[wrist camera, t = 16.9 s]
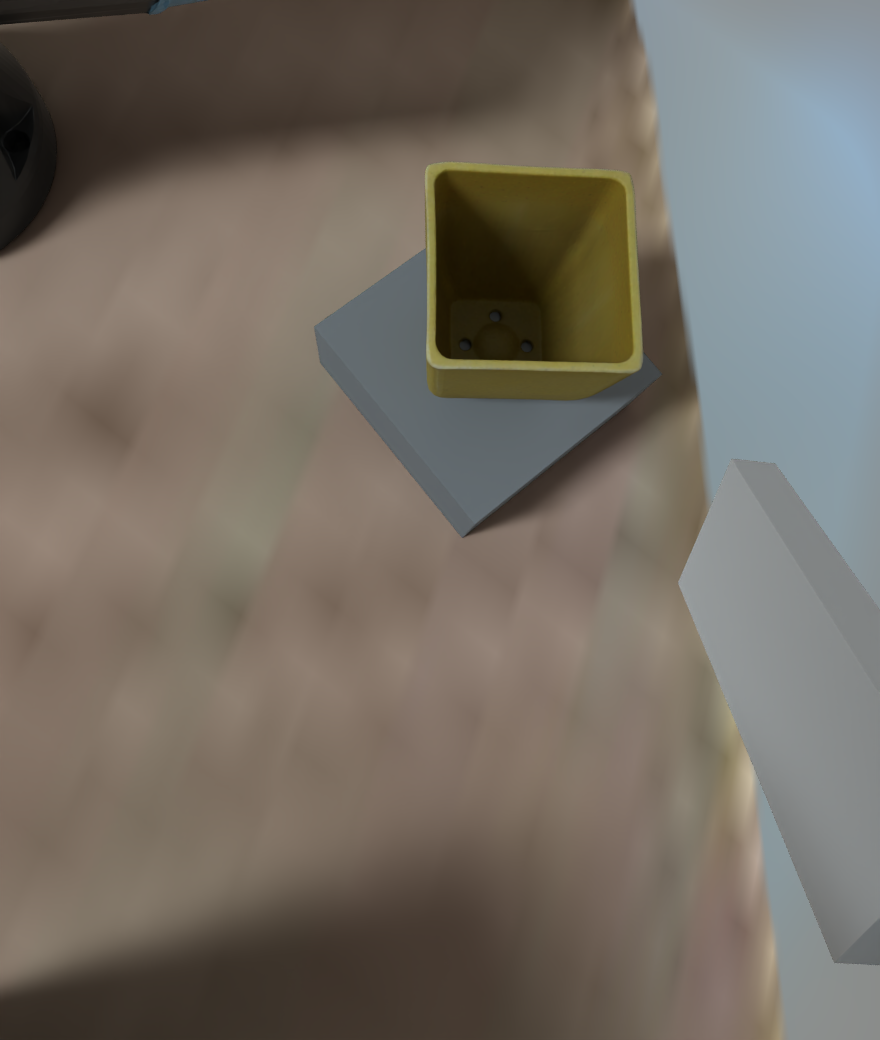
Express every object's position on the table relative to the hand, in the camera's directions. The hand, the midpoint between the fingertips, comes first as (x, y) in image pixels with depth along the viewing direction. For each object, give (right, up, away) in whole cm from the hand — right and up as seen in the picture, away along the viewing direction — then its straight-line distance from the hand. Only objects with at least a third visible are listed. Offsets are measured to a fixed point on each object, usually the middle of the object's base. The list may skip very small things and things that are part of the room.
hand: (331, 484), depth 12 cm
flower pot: (+5, +8, +26) cm, 28 cm away
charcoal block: (+4, +7, +31) cm, 32 cm away
